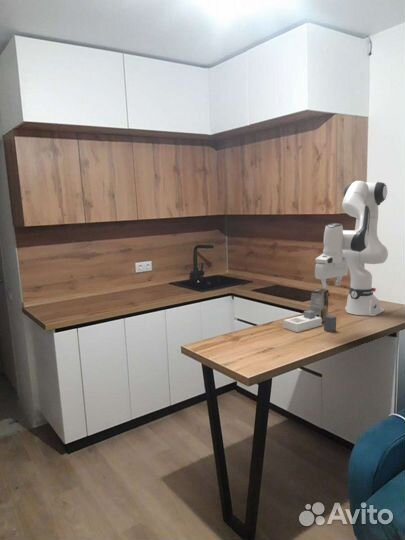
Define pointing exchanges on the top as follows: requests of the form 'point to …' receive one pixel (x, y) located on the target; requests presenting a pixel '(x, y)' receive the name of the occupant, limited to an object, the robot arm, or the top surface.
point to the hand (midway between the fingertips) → (331, 286)
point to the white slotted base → (302, 322)
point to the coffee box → (319, 302)
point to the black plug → (330, 323)
